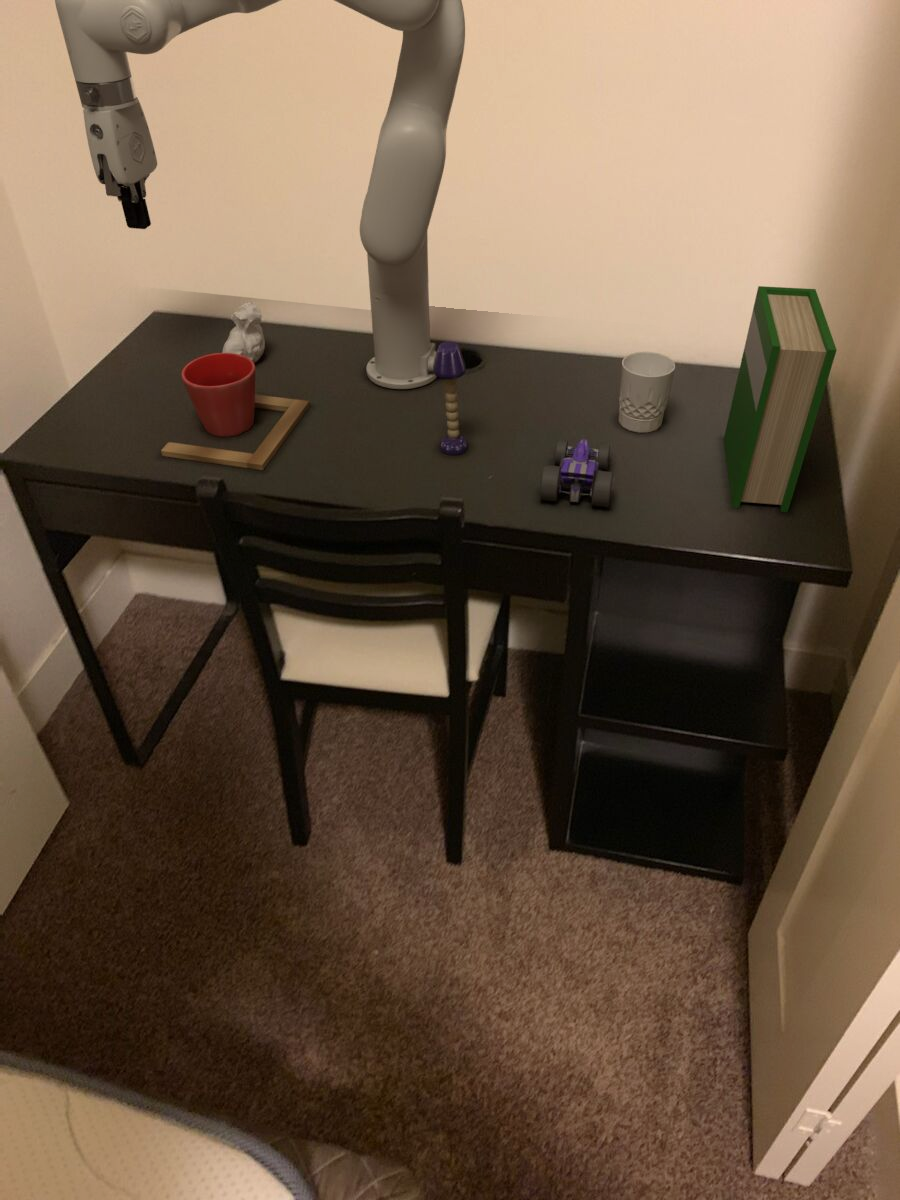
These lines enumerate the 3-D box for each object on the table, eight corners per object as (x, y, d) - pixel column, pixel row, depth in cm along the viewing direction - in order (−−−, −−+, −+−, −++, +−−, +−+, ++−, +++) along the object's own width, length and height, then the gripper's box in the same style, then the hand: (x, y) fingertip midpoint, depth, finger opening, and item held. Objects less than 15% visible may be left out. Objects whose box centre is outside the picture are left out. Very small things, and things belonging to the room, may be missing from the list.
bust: (236, 387, 154) (266, 343, 147) (199, 359, 152) (227, 313, 145) (263, 356, 163) (292, 312, 156) (228, 328, 161) (256, 283, 154)
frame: (310, 406, 145) (309, 400, 144) (263, 470, 132) (262, 464, 131) (217, 394, 148) (216, 389, 148) (162, 456, 135) (160, 450, 134)
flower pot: (262, 440, 138) (252, 383, 131) (190, 445, 137) (176, 388, 130) (266, 405, 145) (256, 350, 139) (198, 409, 145) (185, 354, 138)
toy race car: (615, 454, 133) (620, 416, 129) (607, 514, 123) (612, 474, 118) (552, 448, 135) (554, 410, 130) (538, 506, 124) (541, 467, 120)
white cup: (670, 415, 142) (681, 357, 135) (657, 439, 136) (667, 380, 130) (622, 405, 144) (630, 347, 137) (608, 428, 139) (615, 370, 132)
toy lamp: (444, 459, 133) (442, 356, 122) (430, 444, 136) (427, 342, 125) (472, 450, 135) (473, 348, 123) (458, 436, 138) (457, 334, 127)
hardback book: (787, 512, 122) (836, 350, 106) (732, 507, 123) (772, 346, 107) (773, 443, 135) (815, 289, 119) (723, 439, 136) (758, 286, 120)
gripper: (102, 107, 118) (137, 246, 131) (157, 81, 129) (184, 212, 141) (52, 104, 120) (91, 242, 132) (111, 78, 130) (141, 208, 143)
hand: (139, 226), depth 137 cm, fingers closed
